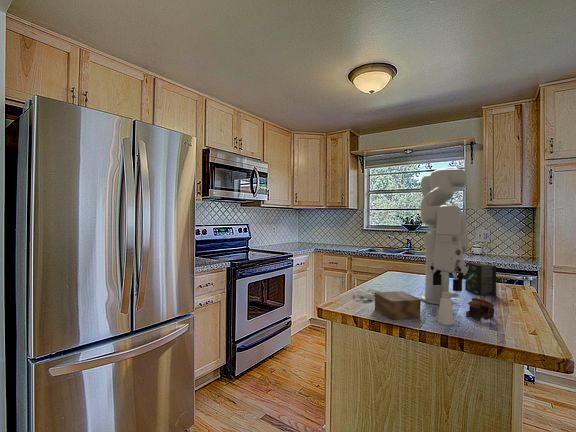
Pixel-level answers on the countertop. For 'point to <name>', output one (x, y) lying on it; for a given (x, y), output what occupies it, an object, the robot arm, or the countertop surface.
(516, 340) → the countertop surface
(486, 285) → the tampon box
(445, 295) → the pepper shaker
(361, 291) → the tangled rod sculpture
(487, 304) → the dark brown rounded lump
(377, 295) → the walnut box
